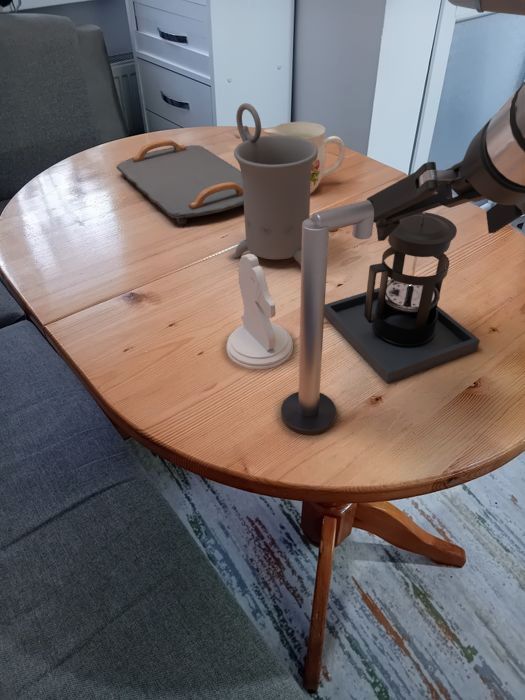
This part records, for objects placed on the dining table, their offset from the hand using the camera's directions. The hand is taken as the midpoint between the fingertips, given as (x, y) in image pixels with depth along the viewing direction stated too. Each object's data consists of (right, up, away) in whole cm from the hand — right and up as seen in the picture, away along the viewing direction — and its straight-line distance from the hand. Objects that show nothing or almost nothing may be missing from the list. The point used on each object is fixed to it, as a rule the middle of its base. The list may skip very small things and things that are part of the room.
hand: (435, 226), depth 65 cm
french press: (0, -12, +16) cm, 20 cm away
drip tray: (-1, -12, +16) cm, 20 cm away
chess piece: (-21, -15, +15) cm, 30 cm away
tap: (-14, -23, +4) cm, 27 cm away
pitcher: (-12, +21, +56) cm, 61 cm away
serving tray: (-38, +22, +59) cm, 73 cm away
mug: (-19, +3, +36) cm, 40 cm away
